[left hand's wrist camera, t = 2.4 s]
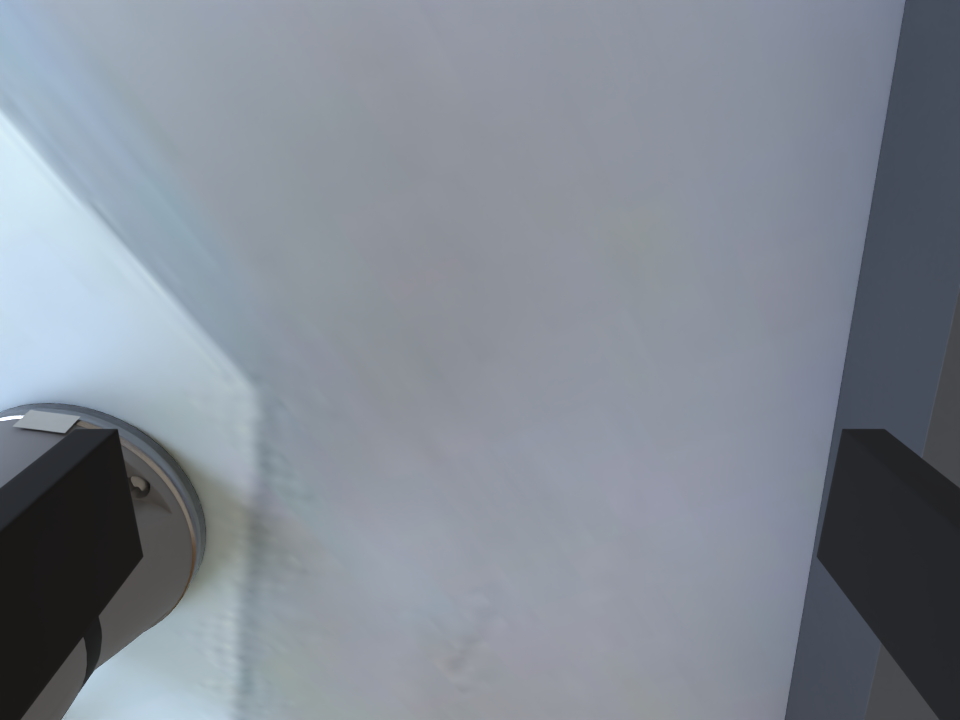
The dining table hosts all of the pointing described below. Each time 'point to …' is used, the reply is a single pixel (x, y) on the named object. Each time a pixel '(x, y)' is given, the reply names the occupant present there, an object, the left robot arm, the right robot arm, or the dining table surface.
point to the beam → (896, 355)
